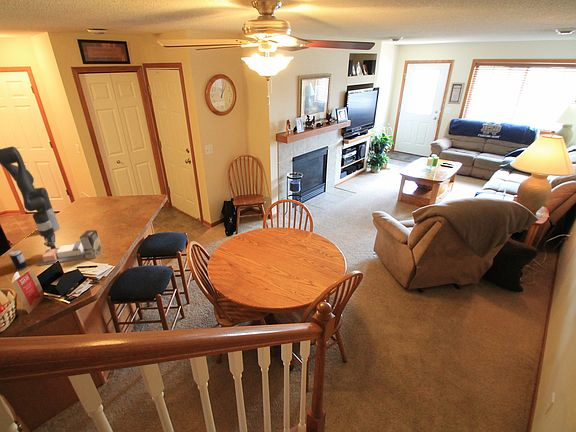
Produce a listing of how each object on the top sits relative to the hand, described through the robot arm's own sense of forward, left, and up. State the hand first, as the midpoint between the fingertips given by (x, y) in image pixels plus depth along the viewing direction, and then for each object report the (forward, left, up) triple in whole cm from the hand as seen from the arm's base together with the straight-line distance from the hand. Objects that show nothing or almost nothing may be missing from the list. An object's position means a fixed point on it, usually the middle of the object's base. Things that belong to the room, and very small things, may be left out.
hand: (54, 250), depth 198 cm
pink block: (+6, 0, -2) cm, 6 cm away
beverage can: (+11, -15, -3) cm, 19 cm away
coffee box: (+8, +24, -3) cm, 26 cm away
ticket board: (+3, +6, -3) cm, 7 cm away
